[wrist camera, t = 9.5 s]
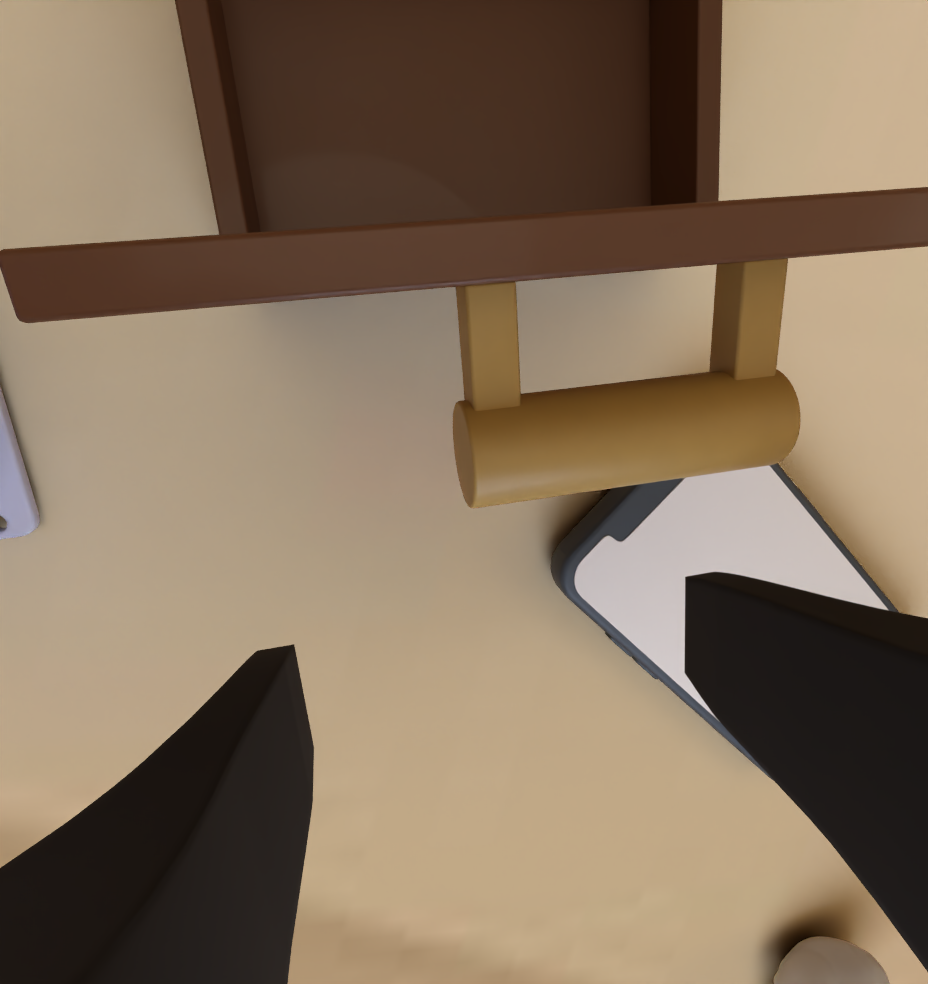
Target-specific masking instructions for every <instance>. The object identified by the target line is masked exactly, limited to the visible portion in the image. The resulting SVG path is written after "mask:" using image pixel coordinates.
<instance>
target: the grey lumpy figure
mask: <svg viewBox="0 0 928 984" xmlns="http://www.w3.org/2000/svg"><path fill="white" fill-rule="evenodd" d="M774 984H890V983H889V980H888V977H887V975H886V973H885V971H884V969H883V968H882V966H881V965H880V964H879V963H878V962H877V960H876V959H875V958H874V957H873V956H872V955H871V954H870V953H868V952H867V951H865V950H863V949H861V948H859V947H858V946H856V945H854V944H852V943H850V942H848V941H845V940H841V939H836V938H831V937H823V936H816V937H810V938H807V939H804V940H803V941H801V942H799V943H798V944H797V945H796V946H794V947H793V948H792V950H791V951H790V952H789V953H788V954H787V955H786V956H785V958H784V959H783V960H782V962H781V963H780V966H779V970H778V971H777V973H776V974H775V976H774Z"/></svg>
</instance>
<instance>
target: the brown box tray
mask: <svg viewBox="0 0 928 984" xmlns="http://www.w3.org/2000/svg"><path fill="white" fill-rule="evenodd" d="M175 4H176V9H177V14H178V19H179V25H180V30H181V35H182V40H183V46H184V51H185V56H186V61H187V67H188V72H189V77H190V82H191V88H192V93H193V98H194V103H195V109H196V114H197V119H198V125H199V130H200V135H201V140H202V146H203V151H204V156H205V161H206V167H207V172H208V177H209V182H210V188H211V193H212V198H213V203H214V209H215V214H216V219H217V224H218V230H219V235H223V234H238V233H253V232H268V231H283V230H298V229H312V228H327V227H342V226H357V225H372V224H387V223H402V222H416V221H431V220H446V219H461V218H476V217H491V216H506V215H520V214H535V213H550V212H565V211H580V210H595V209H610V208H624V207H639V206H654V205H669V204H684V203H699V202H714V201H718V193H719V143H720V93H721V43H722V0H175Z"/></svg>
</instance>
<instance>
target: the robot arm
mask: <svg viewBox="0 0 928 984" xmlns="http://www.w3.org/2000/svg"><path fill="white" fill-rule="evenodd" d="M0 516H1V517H3V518H4V519H5V520H6V522H7V528H2V527H0V539H6V538H13V537H21V536H24V535H27V534H29V533H31V532H32V531H34V530H35V529H36V528H37V527H38V525H39V523H40V515H39V512H38V509H37V505H36V502H35V499H34V495H33V492H32V489H31V486H30V482H29V479H28V476H27V472H26V469H25V466H24V462H23V459H22V456H21V452H20V449H19V446H18V442H17V439H16V436H15V433H14V429H13V426H12V423H11V419H10V416H9V413H8V409H7V406H6V403H5V399H4V396H3V393H2V389H1V386H0ZM685 674H686V676H687V677H688V679H689V680H690V682H691V683H692V684H693V686H694V687H695V689H696V690H697V692H698V693H699V695H700V696H701V698H702V699H703V701H704V702H705V703H706V705H707V706H708V707H709V709H710V710H711V712H712V713H713V714H714V716H715V717H716V718H717V719H718V720H719V721H720V723H721V724H722V725H723V726H724V727H725V728H726V729H727V730H728V732H729V733H730V734H731V735H732V736H733V737H734V738H735V739H736V740H737V741H738V742H739V744H740V745H741V746H742V747H743V748H744V749H745V750H746V751H747V752H748V753H749V754H750V755H751V757H752V758H753V759H754V760H755V761H756V762H757V763H758V764H759V765H760V766H761V767H762V768H763V769H764V770H765V771H766V773H767V774H768V775H769V776H770V777H771V778H772V779H773V780H774V781H775V782H776V783H777V784H778V785H779V786H780V788H781V789H782V790H783V791H784V792H785V793H786V794H787V795H788V796H789V797H790V798H791V799H792V800H793V801H794V803H795V804H796V805H797V806H798V807H799V808H800V809H801V810H802V811H803V812H804V813H805V814H806V815H807V816H808V817H809V819H810V820H811V821H812V822H813V823H814V824H815V826H816V827H817V828H818V829H819V830H820V831H821V832H822V834H823V835H824V836H825V837H826V838H827V839H828V841H829V842H830V843H831V844H832V845H833V847H834V848H835V849H836V850H837V852H838V853H839V854H840V856H841V857H842V858H843V859H844V861H845V862H846V863H847V865H848V866H849V867H850V868H851V870H852V871H853V872H854V874H855V875H856V876H857V877H858V879H859V880H860V881H861V883H862V884H863V885H864V886H865V888H866V889H867V890H868V892H869V893H870V894H871V895H872V897H873V898H874V899H875V901H876V902H877V903H878V905H879V906H880V907H881V909H882V910H883V911H884V913H885V914H886V916H887V917H888V918H889V920H890V921H891V922H892V924H893V925H894V926H895V928H896V929H897V931H898V932H899V933H900V935H901V936H902V937H903V939H904V940H905V941H906V943H907V944H908V946H909V947H910V948H911V950H912V951H913V952H914V954H915V955H916V956H917V958H918V959H919V961H920V962H921V963H922V965H923V966H924V967H925V969H926V970H927V971H928V618H923V617H917V616H912V615H908V614H903V613H898V612H894V611H889V610H884V609H880V608H875V607H870V606H866V605H862V604H857V603H853V602H849V601H845V600H841V599H836V598H832V597H828V596H824V595H820V594H816V593H812V592H808V591H804V590H800V589H797V588H793V587H789V586H785V585H781V584H776V583H772V582H768V581H764V580H760V579H756V578H751V577H747V576H742V575H737V574H731V573H724V572H709V573H704V574H698V575H692V576H686V577H685ZM313 760H314V746H313V741H312V736H311V730H310V725H309V720H308V715H307V709H306V704H305V699H304V694H303V689H302V683H301V678H300V673H299V668H298V663H297V657H296V652H295V647H294V645H288V646H283V647H277V648H271V649H265V650H260V651H256V652H255V653H254V654H253V655H252V656H251V657H250V658H249V659H248V660H247V661H246V662H245V663H244V664H243V665H242V666H241V667H240V668H239V669H238V670H237V671H236V672H235V673H234V674H233V675H232V676H231V677H230V678H229V679H228V680H227V682H226V683H225V684H224V685H223V686H222V687H221V688H220V689H219V690H218V691H217V692H216V693H215V694H214V695H213V696H212V697H211V698H210V699H209V700H208V701H207V702H206V703H205V704H204V705H203V706H202V707H201V708H200V709H199V710H198V711H197V712H196V713H195V714H194V715H193V716H192V717H191V718H190V719H189V720H188V721H187V722H186V723H185V724H184V725H183V726H181V727H180V728H179V729H178V730H177V731H176V732H175V733H174V734H173V735H172V736H171V737H170V738H168V739H167V740H166V741H165V742H164V743H163V744H162V745H161V746H160V747H159V748H158V749H157V750H155V751H154V752H153V753H152V754H151V755H150V756H149V757H148V758H147V759H146V760H145V761H143V762H142V763H141V764H140V765H139V766H138V767H136V768H135V769H134V770H133V771H132V772H131V773H129V774H128V775H127V776H126V777H125V778H123V779H122V780H121V781H120V782H118V783H117V784H116V785H115V786H114V787H112V788H111V789H110V790H109V791H107V792H106V793H105V794H103V795H102V796H101V797H99V798H98V799H97V800H96V801H94V802H93V803H92V804H90V805H89V806H88V807H87V808H85V809H84V810H83V811H81V812H80V813H79V814H78V815H76V816H75V817H73V818H72V819H71V820H69V821H68V822H67V823H65V824H64V825H63V826H61V827H60V828H58V829H57V830H55V831H54V832H52V833H51V834H49V835H48V836H46V837H45V838H44V839H42V840H41V841H39V842H38V843H36V844H35V845H33V846H32V847H30V848H29V849H27V850H26V851H25V852H23V853H22V854H20V855H19V856H17V857H16V858H14V859H13V860H11V861H10V862H8V863H7V864H6V865H4V866H3V867H1V868H0V984H287V982H288V973H289V964H290V955H291V946H292V940H293V933H294V926H295V919H296V913H297V906H298V899H299V893H300V886H301V879H302V872H303V866H304V859H305V852H306V845H307V838H308V831H309V825H310V818H311V810H312V801H313Z"/></svg>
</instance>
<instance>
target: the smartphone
mask: <svg viewBox="0 0 928 984" xmlns="http://www.w3.org/2000/svg"><path fill="white" fill-rule="evenodd" d="M709 572H724V573H731V574H737V575H742V576H747V577H751V578H756V579H760V580H764V581H768V582H772V583H776V584H781V585H785V586H789V587H793V588H797V589H800V590H804V591H808V592H812V593H816V594H820V595H824V596H828V597H832V598H836V599H841V600H845V601H849V602H853V603H857V604H862V605H866V606H870V607H875V608H880V609H884V610H889V611H894V612H898V613H899V611H898V610H897V609H896V608H895V607H894V605H893V604H892V603H891V602H890V600H889V599H888V598H887V597H886V596H885V594H884V593H883V592H882V591H881V589H880V588H879V587H878V586H877V584H876V583H875V582H874V581H873V580H872V578H871V577H870V576H869V575H868V573H867V572H866V571H865V570H864V569H863V567H862V566H861V565H860V564H859V562H858V561H857V560H856V559H855V558H854V556H853V555H852V554H851V553H850V551H849V550H848V549H847V548H846V547H845V545H844V544H843V543H842V542H841V540H840V539H839V538H838V537H837V536H836V534H835V533H834V532H833V531H832V529H831V528H830V527H829V526H828V525H827V523H826V522H825V521H824V520H823V518H822V516H821V515H820V514H819V513H818V511H817V510H816V509H815V508H814V506H813V505H812V504H811V503H810V502H809V500H808V499H807V498H806V497H805V495H804V494H803V493H802V492H801V491H800V489H799V488H797V487H796V485H795V484H794V483H793V482H792V480H791V479H790V478H789V477H788V476H787V474H786V473H785V472H784V471H783V469H782V468H781V467H780V466H779V465H778V463H776V464H773V465H769V466H762V467H755V468H748V469H741V470H734V471H727V472H720V473H714V474H707V475H700V476H693V477H686V478H679V479H672V480H665V481H658V482H652V483H645V484H638V485H631V486H624V487H617V488H612V489H611V490H610V491H609V492H608V493H607V494H606V495H605V496H604V497H603V498H602V499H601V500H600V501H599V502H598V503H597V504H596V505H595V507H594V508H593V509H592V510H591V511H590V512H589V513H588V514H587V515H586V516H585V517H584V518H583V519H582V520H581V521H580V522H579V523H578V524H577V525H576V526H575V527H574V528H573V530H572V531H571V532H570V533H569V534H568V535H567V536H566V537H565V538H564V539H563V540H562V541H561V542H560V544H559V545H558V546H557V548H556V549H555V551H554V554H553V557H552V561H551V573H552V576H553V579H554V581H555V583H556V585H557V586H558V587H559V588H560V589H561V591H562V592H563V593H564V594H565V595H566V596H567V598H568V599H570V600H571V601H572V602H573V603H574V604H575V605H576V606H577V607H578V608H580V609H581V610H582V611H583V612H584V613H585V614H586V615H587V616H589V617H590V618H591V619H592V620H593V621H594V622H595V623H596V624H598V625H599V626H600V627H601V628H602V629H603V630H604V631H605V634H606V635H607V636H608V637H609V638H610V639H611V640H612V641H613V642H614V643H615V644H616V645H617V646H618V647H620V648H621V649H622V650H623V651H624V652H625V653H626V654H627V655H629V656H632V658H633V659H634V660H635V661H636V662H637V663H638V664H639V665H640V666H641V667H642V668H643V669H644V670H646V671H647V672H648V673H649V674H650V675H651V676H652V677H653V678H655V679H659V680H660V681H662V682H663V683H664V684H665V685H666V686H667V687H668V688H669V689H671V690H672V691H673V692H674V693H675V694H676V695H677V696H678V697H680V698H681V699H682V700H683V701H684V702H685V703H686V704H687V705H689V706H690V707H691V708H692V709H693V710H694V711H695V712H696V713H698V714H699V715H700V716H701V717H702V718H703V719H704V720H705V721H707V722H708V723H709V724H710V725H711V726H712V727H713V728H714V729H716V730H717V731H718V732H719V733H720V734H721V735H722V736H723V737H725V738H726V739H727V740H728V741H729V742H730V743H731V744H732V745H734V746H735V747H736V748H737V749H738V750H739V751H740V752H741V753H742V754H744V755H745V756H746V757H747V758H748V759H749V760H750V761H751V762H753V763H754V764H755V765H756V766H757V767H758V768H759V769H760V770H762V771H763V772H764V773H765V774H766V775H767V776H768V777H769V778H771V777H770V776H769V775H768V774H767V773H766V771H765V770H764V769H763V768H762V767H761V766H760V765H759V764H758V763H757V762H756V761H755V760H754V759H753V758H752V757H751V755H750V754H749V753H748V752H747V751H746V750H745V749H744V748H743V747H742V746H741V745H740V744H739V742H738V741H737V740H736V739H735V738H734V737H733V736H732V735H731V734H730V733H729V732H728V730H727V729H726V728H725V727H724V726H723V725H722V724H721V723H720V721H719V720H718V719H717V718H716V717H715V716H714V714H713V713H712V712H711V710H710V709H709V707H708V706H707V705H706V703H705V702H704V701H703V699H702V698H701V696H700V695H699V693H698V692H697V690H696V689H695V687H694V686H693V684H692V683H691V682H690V680H689V679H688V677H687V676H686V674H685V577H686V576H692V575H698V574H704V573H709ZM771 779H772V778H771ZM772 780H773V779H772Z"/></svg>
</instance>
